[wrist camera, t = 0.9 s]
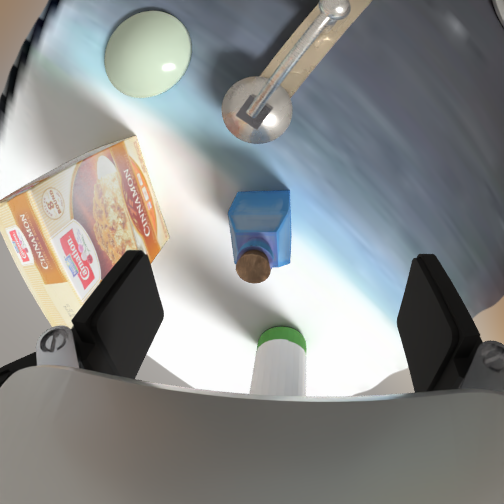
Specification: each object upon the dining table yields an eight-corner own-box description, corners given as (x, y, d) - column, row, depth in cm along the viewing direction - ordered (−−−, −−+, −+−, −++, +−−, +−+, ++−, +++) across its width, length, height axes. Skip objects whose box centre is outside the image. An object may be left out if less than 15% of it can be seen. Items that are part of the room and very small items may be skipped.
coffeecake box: (171, 238, 42) (104, 340, 26) (129, 244, 44) (56, 337, 27) (138, 132, 35) (28, 188, 18) (94, 147, 37) (-13, 208, 20)
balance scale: (368, -66, 18) (401, -124, 6) (418, -30, 20) (475, -70, 7) (217, 115, 33) (169, 138, 21) (268, 149, 34) (251, 192, 22)
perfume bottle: (291, 236, 40) (288, 296, 30) (242, 237, 41) (224, 295, 31) (289, 190, 37) (286, 238, 26) (237, 191, 38) (214, 239, 27)
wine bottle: (290, 361, 52) (274, 531, 26) (250, 344, 51) (215, 521, 25) (315, 334, 48) (311, 525, 22) (273, 316, 47) (244, 517, 21)
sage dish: (137, 0, 26) (133, -1, 25) (210, 34, 28) (208, 33, 27) (95, 75, 31) (91, 75, 30) (160, 113, 33) (157, 114, 33)
